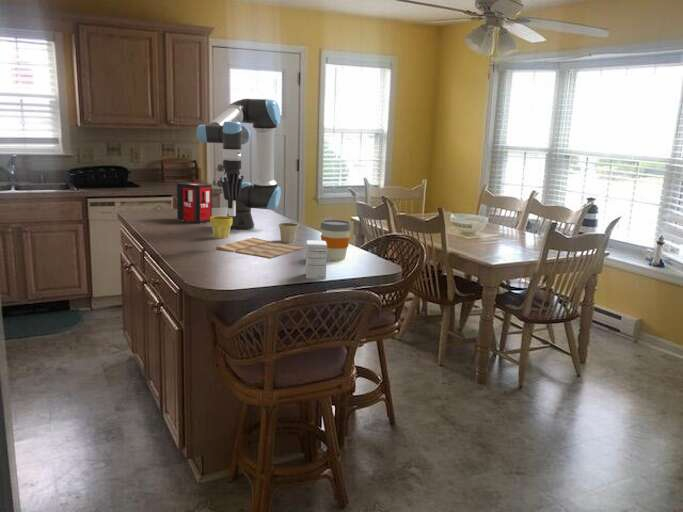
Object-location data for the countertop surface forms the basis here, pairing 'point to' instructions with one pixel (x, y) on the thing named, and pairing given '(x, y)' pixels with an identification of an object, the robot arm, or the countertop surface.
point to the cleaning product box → (194, 202)
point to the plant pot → (221, 226)
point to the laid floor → (270, 250)
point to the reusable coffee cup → (336, 238)
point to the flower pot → (288, 232)
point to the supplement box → (316, 259)
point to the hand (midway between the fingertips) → (232, 215)
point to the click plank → (241, 244)
